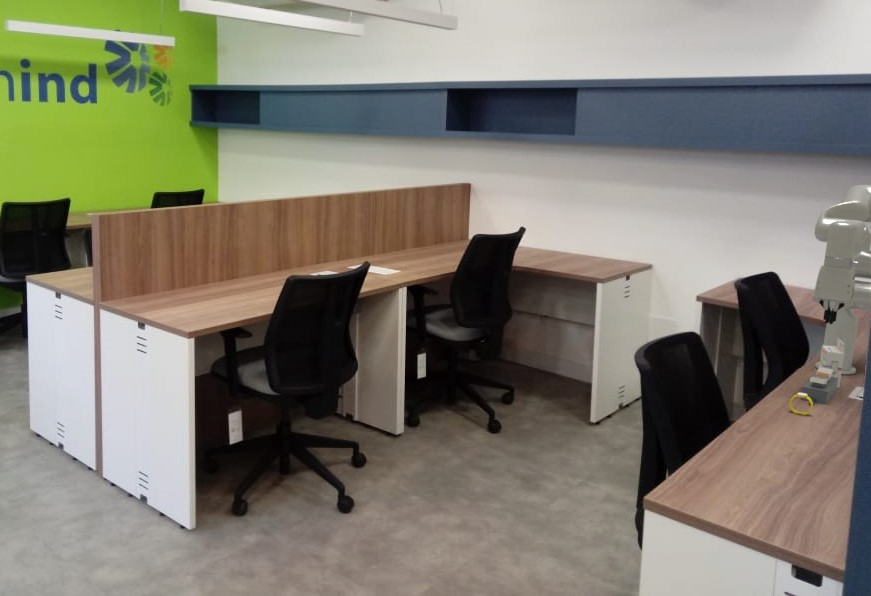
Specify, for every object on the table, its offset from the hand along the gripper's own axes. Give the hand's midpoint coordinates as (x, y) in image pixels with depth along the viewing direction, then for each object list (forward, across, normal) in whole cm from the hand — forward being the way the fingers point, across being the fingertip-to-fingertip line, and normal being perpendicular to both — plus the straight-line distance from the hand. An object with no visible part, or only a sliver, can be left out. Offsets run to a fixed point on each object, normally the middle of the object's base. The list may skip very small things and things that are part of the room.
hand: (829, 322), depth 239 cm
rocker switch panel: (+23, 0, +1) cm, 23 cm away
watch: (+23, +1, +22) cm, 32 cm away
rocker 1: (+18, 0, -6) cm, 19 cm away
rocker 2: (+18, 0, +4) cm, 18 cm away
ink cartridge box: (+23, 0, -16) cm, 28 cm away
